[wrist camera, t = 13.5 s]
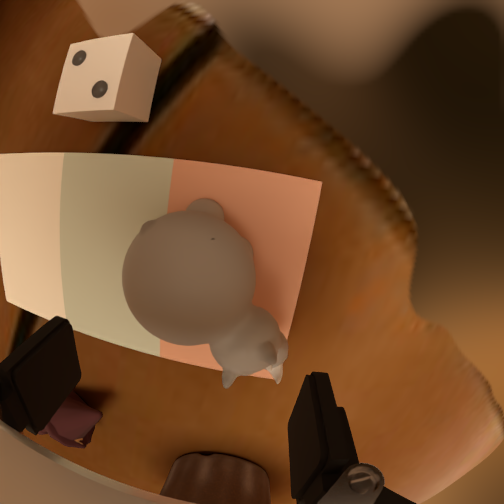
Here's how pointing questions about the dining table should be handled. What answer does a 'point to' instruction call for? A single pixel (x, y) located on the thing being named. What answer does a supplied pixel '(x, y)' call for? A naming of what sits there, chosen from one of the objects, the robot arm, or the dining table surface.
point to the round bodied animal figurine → (202, 290)
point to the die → (108, 80)
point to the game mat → (128, 226)
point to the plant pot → (217, 480)
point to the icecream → (73, 422)
